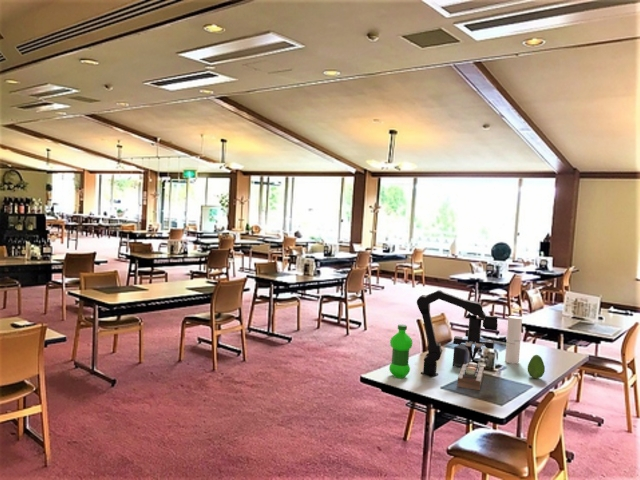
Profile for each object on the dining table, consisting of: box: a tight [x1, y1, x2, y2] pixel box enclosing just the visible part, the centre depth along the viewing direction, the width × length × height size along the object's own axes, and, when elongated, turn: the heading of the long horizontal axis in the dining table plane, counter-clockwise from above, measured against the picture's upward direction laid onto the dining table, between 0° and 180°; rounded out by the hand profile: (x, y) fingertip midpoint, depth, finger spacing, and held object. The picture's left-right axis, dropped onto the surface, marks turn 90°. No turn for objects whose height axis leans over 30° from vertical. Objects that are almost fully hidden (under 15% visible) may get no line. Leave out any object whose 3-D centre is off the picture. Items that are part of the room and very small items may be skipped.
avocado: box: [526, 354, 546, 380], centre depth 261 cm, size 8×8×12 cm
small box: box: [452, 343, 472, 369], centre depth 276 cm, size 11×6×10 cm, turn 143°
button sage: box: [466, 369, 475, 375], centre depth 244 cm, size 4×4×2 cm
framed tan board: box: [456, 363, 485, 391], centre depth 252 cm, size 26×10×6 cm, turn 159°
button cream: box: [469, 361, 478, 367], centre depth 259 cm, size 4×4×2 cm
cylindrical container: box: [504, 315, 523, 364], centre depth 289 cm, size 7×7×25 cm
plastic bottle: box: [389, 324, 413, 379], centre depth 251 cm, size 10×10×25 cm
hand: (472, 360), depth 252 cm, fingers closed
